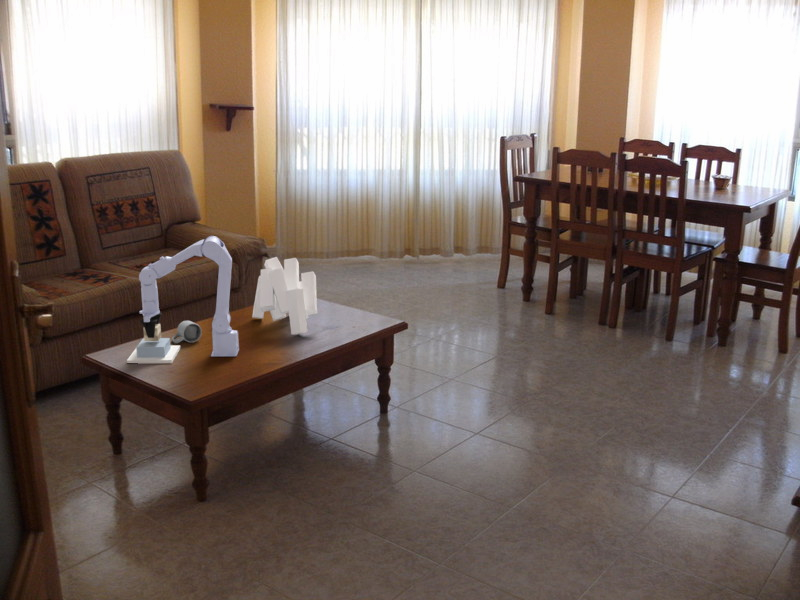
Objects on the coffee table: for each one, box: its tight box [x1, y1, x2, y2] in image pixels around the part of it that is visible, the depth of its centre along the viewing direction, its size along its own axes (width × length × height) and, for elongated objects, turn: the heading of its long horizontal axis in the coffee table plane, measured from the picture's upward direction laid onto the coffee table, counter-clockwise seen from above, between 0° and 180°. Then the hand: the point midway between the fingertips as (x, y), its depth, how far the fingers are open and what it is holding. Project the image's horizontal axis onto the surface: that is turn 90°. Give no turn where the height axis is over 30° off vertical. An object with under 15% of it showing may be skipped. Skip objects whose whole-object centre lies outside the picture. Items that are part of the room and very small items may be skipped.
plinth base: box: [126, 337, 181, 364], centre depth 308 cm, size 16×16×5 cm
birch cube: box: [143, 323, 162, 341], centre depth 306 cm, size 5×5×5 cm
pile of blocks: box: [251, 256, 318, 335], centre depth 346 cm, size 35×30×35 cm
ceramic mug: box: [171, 320, 203, 344], centre depth 325 cm, size 11×8×8 cm
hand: (152, 334), depth 307 cm, fingers closed on birch cube, 5 cm apart
